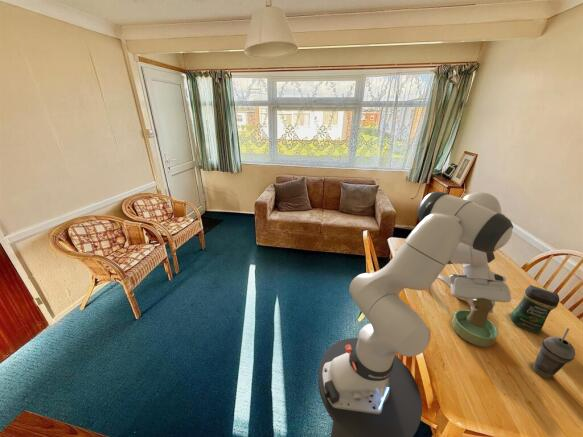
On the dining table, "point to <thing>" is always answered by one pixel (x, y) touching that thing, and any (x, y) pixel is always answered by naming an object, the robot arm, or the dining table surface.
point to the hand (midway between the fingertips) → (482, 311)
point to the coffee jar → (534, 308)
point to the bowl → (474, 329)
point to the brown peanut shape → (480, 313)
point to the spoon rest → (447, 281)
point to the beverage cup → (553, 355)
